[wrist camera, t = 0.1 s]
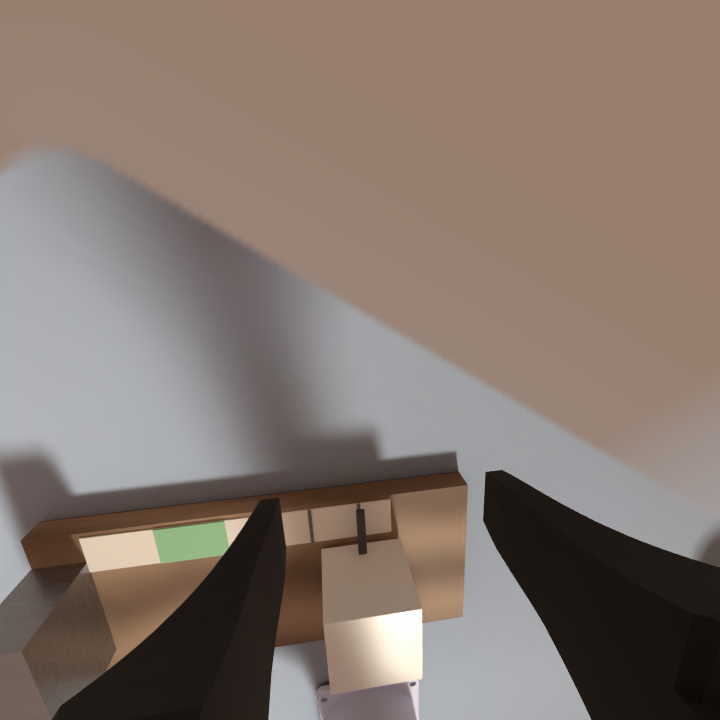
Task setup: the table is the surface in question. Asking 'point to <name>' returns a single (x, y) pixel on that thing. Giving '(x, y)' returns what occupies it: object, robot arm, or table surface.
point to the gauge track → (203, 575)
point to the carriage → (370, 614)
